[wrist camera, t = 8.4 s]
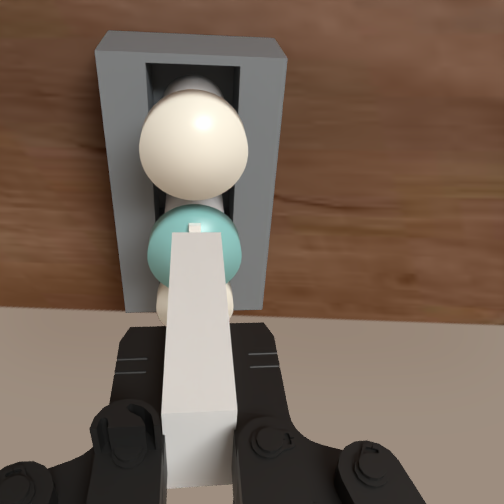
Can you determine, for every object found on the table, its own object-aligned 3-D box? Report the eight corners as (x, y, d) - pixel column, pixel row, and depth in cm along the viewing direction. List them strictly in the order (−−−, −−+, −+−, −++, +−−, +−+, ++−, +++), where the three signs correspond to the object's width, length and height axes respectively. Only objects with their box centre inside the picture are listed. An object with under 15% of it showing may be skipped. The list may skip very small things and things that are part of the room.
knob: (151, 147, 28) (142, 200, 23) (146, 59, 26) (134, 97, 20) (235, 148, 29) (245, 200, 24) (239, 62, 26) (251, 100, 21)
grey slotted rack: (132, 270, 39) (125, 312, 35) (108, 30, 28) (94, 50, 24) (254, 269, 40) (262, 309, 36) (274, 38, 30) (287, 58, 26)
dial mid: (156, 232, 32) (149, 298, 26) (152, 162, 29) (143, 220, 24) (231, 231, 32) (239, 296, 27) (234, 164, 30) (244, 220, 24)
